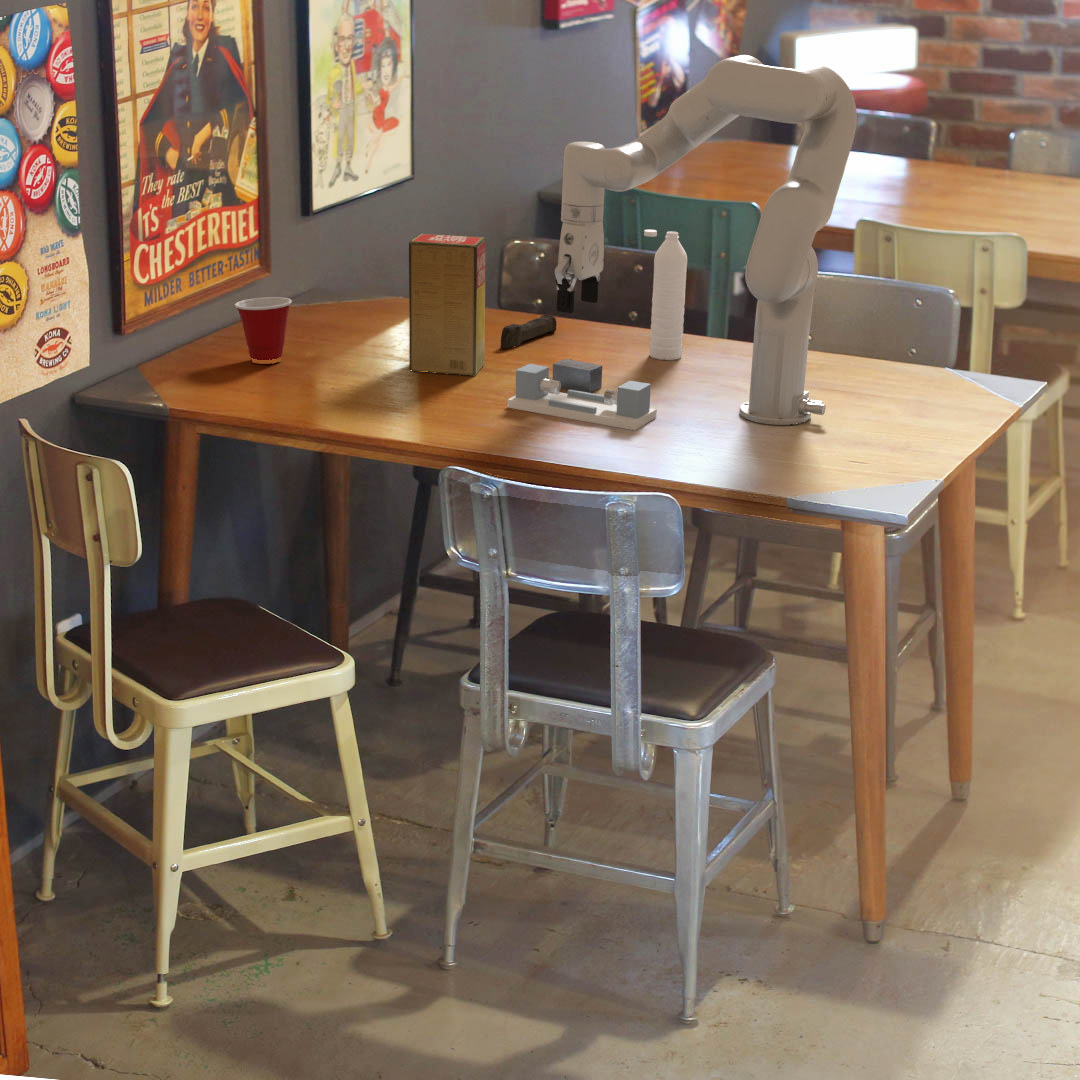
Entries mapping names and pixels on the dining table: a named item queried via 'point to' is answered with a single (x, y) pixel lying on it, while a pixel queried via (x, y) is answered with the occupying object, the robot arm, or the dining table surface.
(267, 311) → the plastic cup
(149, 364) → the dining table surface
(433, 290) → the food packaging
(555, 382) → the shaft stand
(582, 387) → the block
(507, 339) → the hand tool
